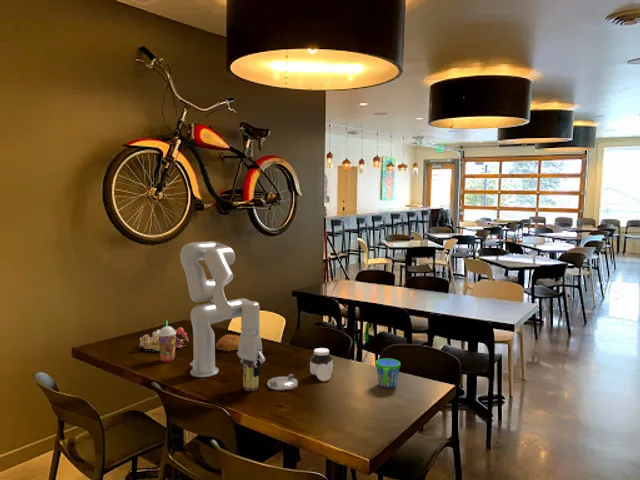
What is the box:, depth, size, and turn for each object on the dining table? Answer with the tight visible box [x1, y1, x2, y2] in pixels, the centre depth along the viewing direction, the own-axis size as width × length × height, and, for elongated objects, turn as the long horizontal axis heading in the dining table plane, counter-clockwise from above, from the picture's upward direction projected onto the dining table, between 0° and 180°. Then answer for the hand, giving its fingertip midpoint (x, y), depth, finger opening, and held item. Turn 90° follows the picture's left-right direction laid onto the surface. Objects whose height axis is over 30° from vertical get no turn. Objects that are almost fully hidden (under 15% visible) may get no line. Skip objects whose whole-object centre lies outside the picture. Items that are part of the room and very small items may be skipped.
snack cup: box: [375, 357, 401, 389], centre depth 203 cm, size 16×10×10 cm
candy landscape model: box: [139, 326, 189, 352], centre depth 259 cm, size 25×24×9 cm
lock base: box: [266, 373, 299, 391], centre depth 204 cm, size 13×13×3 cm
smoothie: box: [158, 320, 177, 363], centre depth 234 cm, size 8×8×20 cm
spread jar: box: [309, 347, 334, 382], centre depth 213 cm, size 12×11×12 cm
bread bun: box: [215, 333, 240, 352], centre depth 256 cm, size 15×16×8 cm
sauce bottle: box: [242, 359, 259, 392], centre depth 198 cm, size 6×6×20 cm
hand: (250, 373), depth 198 cm, fingers closed on sauce bottle, 6 cm apart
